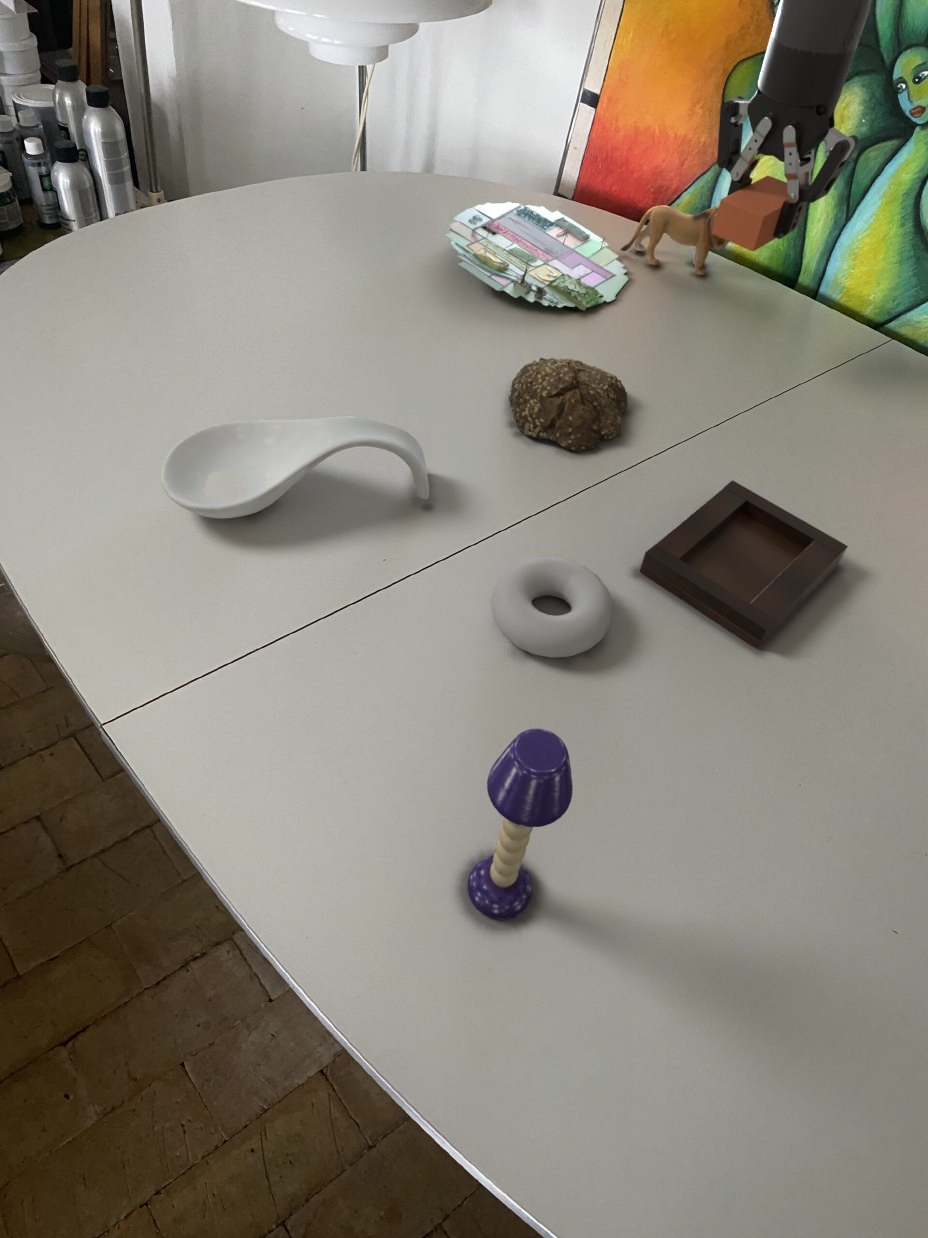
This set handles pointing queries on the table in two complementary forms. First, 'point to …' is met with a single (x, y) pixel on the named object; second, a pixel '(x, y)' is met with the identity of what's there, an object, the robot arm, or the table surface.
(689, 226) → the lion figurine
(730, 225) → the orange block
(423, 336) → the table surface
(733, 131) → the robot arm
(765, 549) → the back plate
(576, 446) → the bread roll
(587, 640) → the donut
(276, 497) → the spoon rest
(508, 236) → the city model
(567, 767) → the toy lamp
